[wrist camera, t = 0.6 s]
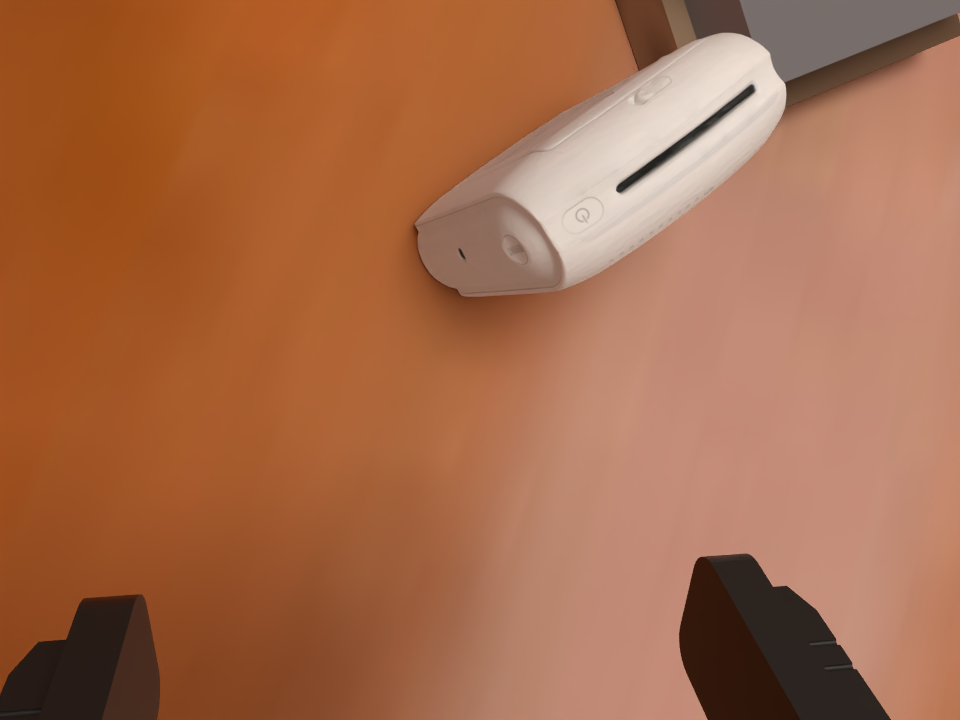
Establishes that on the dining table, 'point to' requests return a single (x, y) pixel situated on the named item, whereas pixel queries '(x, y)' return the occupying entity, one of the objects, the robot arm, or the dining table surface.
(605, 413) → the dining table surface
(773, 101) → the photo printer
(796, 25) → the top brick
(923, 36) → the base brick
